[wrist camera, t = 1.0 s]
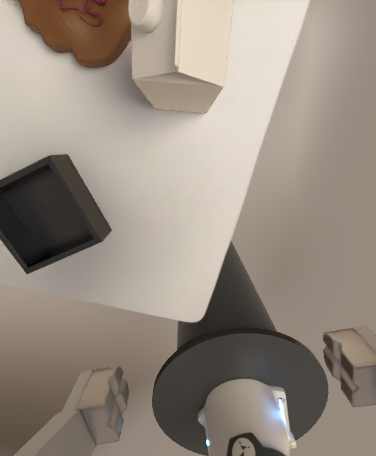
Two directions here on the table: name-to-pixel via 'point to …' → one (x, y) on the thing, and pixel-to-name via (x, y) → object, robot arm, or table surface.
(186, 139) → the table surface
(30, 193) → the tin
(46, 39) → the plant
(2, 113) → the table surface
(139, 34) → the milk carton
